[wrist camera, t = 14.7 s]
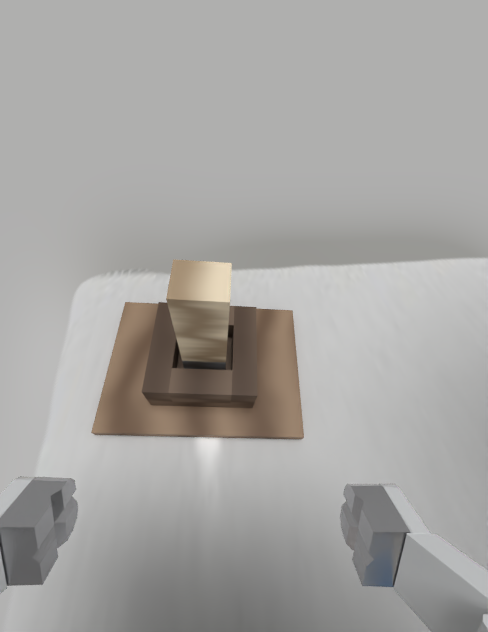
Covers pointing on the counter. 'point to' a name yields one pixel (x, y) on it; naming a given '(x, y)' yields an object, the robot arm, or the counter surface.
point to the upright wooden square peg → (200, 311)
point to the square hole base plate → (202, 379)
